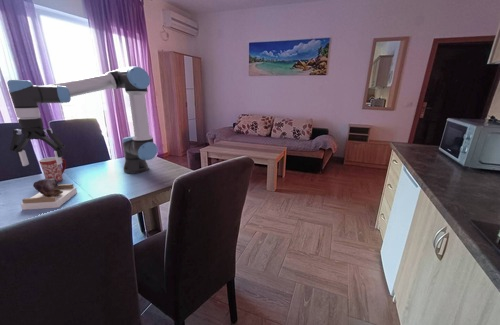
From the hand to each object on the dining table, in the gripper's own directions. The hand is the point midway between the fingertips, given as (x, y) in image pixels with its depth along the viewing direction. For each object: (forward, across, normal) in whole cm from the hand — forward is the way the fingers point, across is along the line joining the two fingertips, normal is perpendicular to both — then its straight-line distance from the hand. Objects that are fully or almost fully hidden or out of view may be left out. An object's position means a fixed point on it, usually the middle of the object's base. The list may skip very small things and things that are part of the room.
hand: (43, 164), depth 103 cm
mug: (+19, +13, -29) cm, 37 cm away
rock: (+16, +1, 0) cm, 16 cm away
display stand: (+18, 0, 0) cm, 18 cm away
